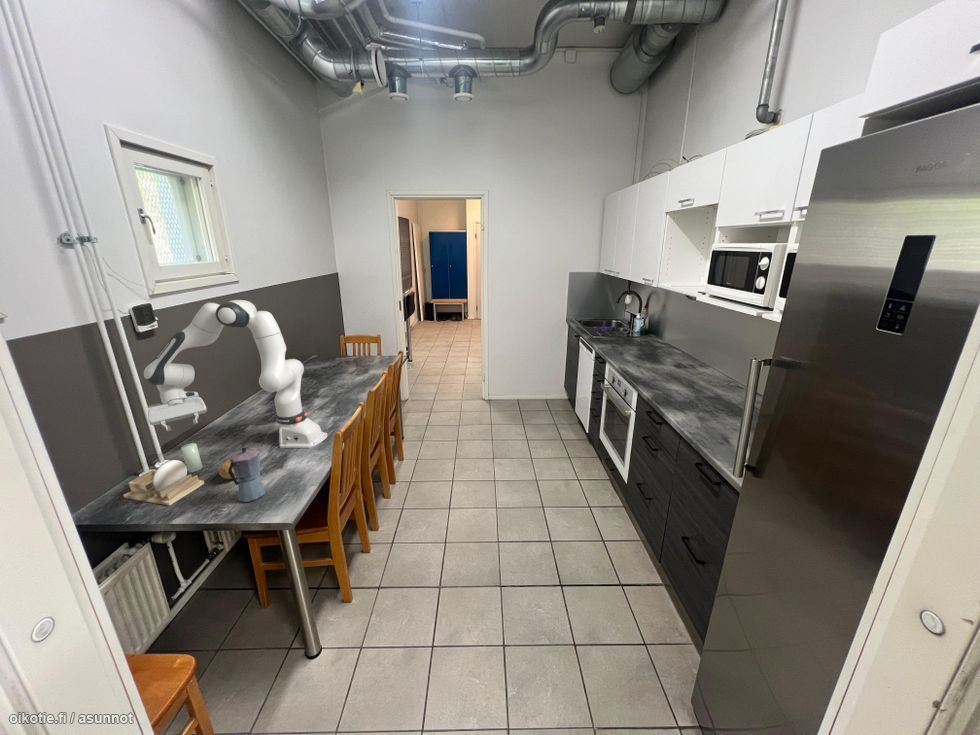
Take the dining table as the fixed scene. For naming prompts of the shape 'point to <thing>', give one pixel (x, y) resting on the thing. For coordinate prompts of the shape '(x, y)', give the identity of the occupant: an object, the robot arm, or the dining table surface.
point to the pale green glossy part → (191, 457)
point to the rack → (163, 484)
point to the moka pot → (247, 474)
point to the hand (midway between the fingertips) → (182, 426)
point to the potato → (226, 470)
